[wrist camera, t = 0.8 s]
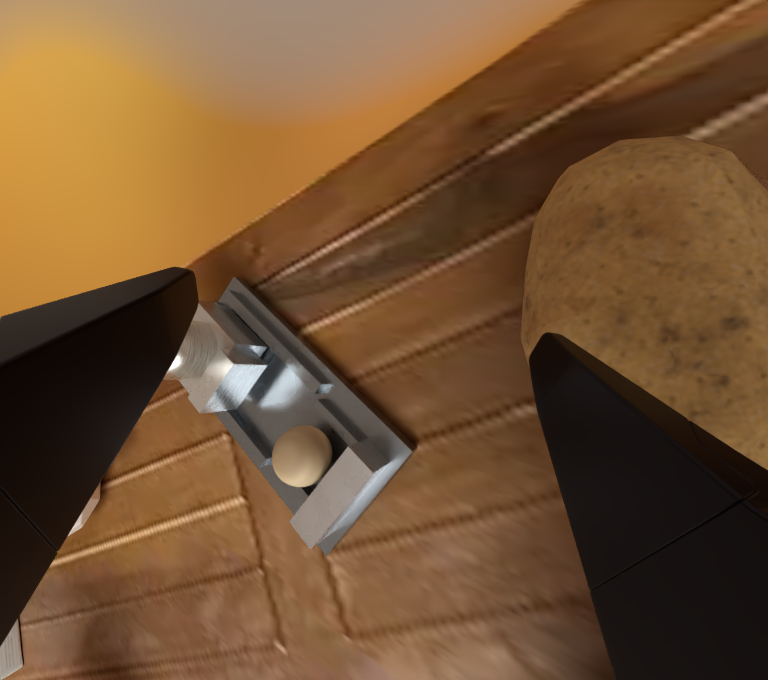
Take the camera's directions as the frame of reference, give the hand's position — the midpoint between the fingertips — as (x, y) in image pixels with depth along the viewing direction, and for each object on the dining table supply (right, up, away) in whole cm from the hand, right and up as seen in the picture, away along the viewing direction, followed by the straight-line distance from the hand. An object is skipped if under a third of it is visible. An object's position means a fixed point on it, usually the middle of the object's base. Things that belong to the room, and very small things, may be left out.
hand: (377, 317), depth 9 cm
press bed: (-7, -5, +17) cm, 19 cm away
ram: (-11, -2, +17) cm, 21 cm away
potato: (+13, 0, +9) cm, 16 cm away
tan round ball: (-4, -8, +14) cm, 17 cm away
